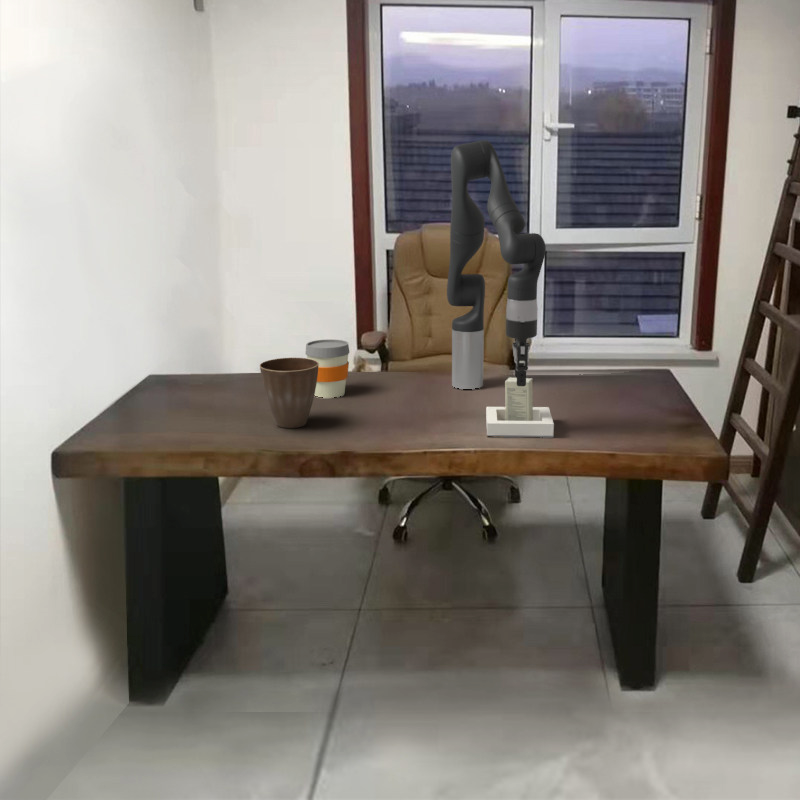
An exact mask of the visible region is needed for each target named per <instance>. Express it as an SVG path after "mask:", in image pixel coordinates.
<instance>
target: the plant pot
mask: <svg viewBox="0 0 800 800" xmlns="http://www.w3.org/2000/svg"><path fill="white" fill-rule="evenodd" d="M318 367H319V363H318V362H317V361H316V360H312V359H307V358H305V357H281V358H274V359H269V360H266V361H263V362H260V364H259V370H260V374H261V380H262V385H263V388H264V393H265V396H266V398H267V402H268V405H269V409H270V410H271V413H272V416H273V418H274V421H275V423H276V425H277V426H278V427H280V428H286V429H295V428H297V429H298V428H301V427H303V426H305V425H306V424H307V422H308V419H309V416H310V412H311V409H312V406H313V402H314V397H315V396H314V394H315V389H316V383H317V376H318Z"/></svg>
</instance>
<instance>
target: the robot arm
mask: <svg viewBox="0 0 800 800" xmlns="http://www.w3.org/2000/svg"><path fill="white" fill-rule="evenodd" d="M450 171H451V172H450V176H451V177H450V178H451V179H450V180H451V213H450V214H451V216H450V227H449V228H450V229H449V231H450V232H449V239H450V240H449V241H450V243H449V247H450V249H449V251H450V253H449V264H448V265H449V266H448V267H449V268H448V275H447V285H446V298H447V302H448V304H449V305H450V306H453V307H472V308H471V310H470V311H468V312H467V313H465V314H464V315H461V316H458V317H455V318H453V320H452V322H451V387H452V386H453V387H452V388H454V387H455V388H454V389H457V388H459V389H458V390H463V389H472V390H476V389H475V388H479V389H481V388H480V387H482V386H483V387H484V347H485V346H484V341H485V340H484V337H485V336H484V333H485V332H484V324H485V323H484V322H485V321H484V320H485V318H484V317H485V316H484V314H485V313H484V312H485V296H486V295H485V294H486V282H485V281H486V280H485V278H484V276H483V274H480V273H472V274H471V273H469V274H468V273H467V274H465V273H464V274H463V273H462V272H463V270H464V268H465V267H466V265H467V264H468V263H469V262H470V260H471V259H472V258H473V257H474V256H475V255H476V253H477V252H478V251H479V249H480V248H481V246H482V244H483V243H484V238H485V226H486V225H485V224H486V223H485V217H484V214H483V212H482V210H481V209H480V208H479V207H478V205H477V204H476V203H475V202H474V200H473V198H472V197H471V195H470V194H469V191H468V190H469V189H468V184H469V182H470V181H474V180H478V179H485V178H488V179H489V181H490V183H491V184H490V185H491V186H490V191H489V195H488V199H487V205H486V206H487V209H486V210H487V214H488V217H489V219H490V220H491V222H492V224H493V226H494V228H495V230H496V232H497V237H498V241H499V248H500V249H499V250H500V256H501V257H502V259H503V260H504V261H505V262H506V263H508V264H510V265H523V267H522V269H521V270H519V271H518V272H515V273H513V274H511V275H510V276H508V280H507V300H506V301H507V302H506V307H505V308H506V310H505V318H506V319H505V335H506V337H508V338H511V339H514V342H512V353H513V355H512V357H513V358H514V359H513V361H514V363H515V364H514V378H517V386H526V378H527V371H528V370H529V366H528V365H529V364H528V363H529V362H530V361H529V360H530V354H529V353H530V351H531V350H530V349H531V346H530V343H529V342H527V341H528V339H533V338H535V337H536V336H537V335H538V311H539V310H538V301H537V300H538V298H537V297H538V295H537V294H538V281H539V278H540V274H541V271H542V267H543V263H544V261H545V256H546V251H547V250H546V243H545V239H544V237H543V236H541V234H539V233H535V232H534V233H533V232H530V233H523V231H524V229H525V227H526V226H525V225H526V222H525V219H524V217H523V214H522V213H521V211H520V210H519V208H518V206H517V204H516V202H515V201H514V199H513V196H512V194H511V191H510V188H509V185H508V183H507V179H506V176H505V174H504V171H503V168H502V165H501V163H500V159H499V156H498V154H497V150H496V149H495V147H494V145H493V144H492V143H491V142H490V141H488V140H477V141H474V142H467V143H462V144H459V145H455V146H454V147H453V149H452V150H451V154H450ZM483 387H482V388H483Z"/></svg>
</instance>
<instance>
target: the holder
mask: <svg viewBox="0 0 800 800" xmlns="http://www.w3.org/2000/svg"><path fill="white" fill-rule="evenodd" d="M485 415H486V416H485V418H486V419H485V426H486V437H487V436H504V437H503V438H521V437H540V438H539V439H543V438H544V439H546V438H547V439H548V438H549V439H550V438H551V439H554V430H555V429H554V428H555V423H554V420H553V416H552V414H551V411H550V407H549V406H533V421H506V417H505V406H486V409H485ZM542 437H543V438H542Z"/></svg>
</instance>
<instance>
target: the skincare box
mask: <svg viewBox="0 0 800 800" xmlns="http://www.w3.org/2000/svg"><path fill="white" fill-rule="evenodd" d="M533 386H534V385H533V377H532V378H529V377H526V386H517V377H511V376H509V377H508V378H507V379H505V381H504V387H505V388H504V389H505V390H504V393H505V394H504V396H505V397H504V398H505V400H504V403H505V406H504V407H505V417H506V421H533V407H534V406H533V404H534V403H533V401H534V398H533V397H534V393H533V390H534V389H533V388H534V387H533Z"/></svg>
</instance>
